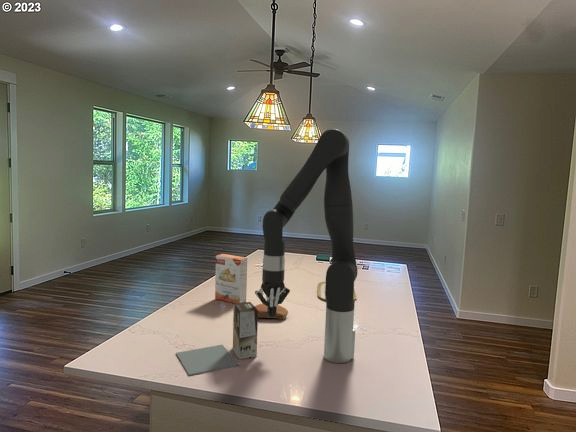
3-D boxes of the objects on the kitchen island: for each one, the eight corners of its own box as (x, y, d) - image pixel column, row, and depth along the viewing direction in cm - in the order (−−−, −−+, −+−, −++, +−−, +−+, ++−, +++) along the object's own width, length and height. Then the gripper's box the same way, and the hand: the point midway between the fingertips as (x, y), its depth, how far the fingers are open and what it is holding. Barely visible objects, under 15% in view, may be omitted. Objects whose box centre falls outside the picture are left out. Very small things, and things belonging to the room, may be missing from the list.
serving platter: (317, 303, 198) (317, 299, 197) (317, 282, 232) (317, 279, 232) (357, 305, 196) (358, 302, 196) (352, 284, 231) (352, 281, 231)
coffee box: (257, 357, 139) (258, 310, 137) (238, 359, 137) (239, 312, 135) (249, 345, 148) (250, 301, 146) (231, 348, 145) (232, 303, 143)
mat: (222, 345, 147) (222, 344, 147) (239, 365, 133) (239, 364, 133) (176, 353, 139) (176, 352, 139) (189, 375, 125) (189, 374, 125)
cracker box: (214, 299, 196) (215, 255, 194) (222, 296, 201) (222, 253, 199) (239, 304, 190) (240, 259, 187) (246, 301, 195) (247, 257, 192)
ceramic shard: (269, 313, 166) (242, 309, 175) (272, 329, 167) (245, 324, 176) (292, 300, 177) (266, 297, 187) (294, 315, 178) (268, 311, 187)
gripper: (260, 271, 137) (258, 322, 139) (295, 268, 143) (293, 317, 146) (251, 266, 144) (249, 315, 146) (285, 263, 150) (283, 310, 152)
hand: (271, 316), depth 146 cm, fingers closed
